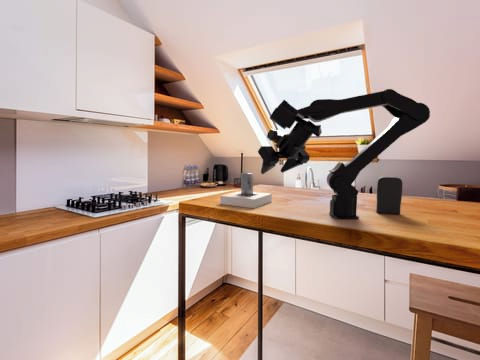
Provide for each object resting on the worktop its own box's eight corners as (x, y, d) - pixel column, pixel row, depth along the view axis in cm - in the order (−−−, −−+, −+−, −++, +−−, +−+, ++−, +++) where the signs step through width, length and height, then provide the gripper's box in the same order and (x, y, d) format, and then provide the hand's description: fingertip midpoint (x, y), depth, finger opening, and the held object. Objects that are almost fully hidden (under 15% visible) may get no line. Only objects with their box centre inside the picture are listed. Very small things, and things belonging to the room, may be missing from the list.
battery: (399, 212, 86) (401, 176, 85) (401, 215, 83) (403, 177, 81) (374, 210, 89) (376, 175, 87) (375, 213, 85) (377, 176, 84)
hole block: (271, 201, 104) (271, 193, 104) (254, 208, 92) (254, 199, 92) (240, 198, 111) (240, 190, 111) (220, 203, 99) (220, 195, 99)
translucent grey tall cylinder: (252, 201, 104) (252, 172, 103) (253, 203, 100) (253, 173, 98) (240, 201, 104) (240, 172, 103) (241, 203, 99) (241, 173, 98)
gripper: (303, 122, 92) (279, 155, 102) (261, 118, 80) (239, 156, 90) (322, 145, 86) (295, 177, 96) (281, 144, 75) (255, 181, 85)
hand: (271, 172), depth 92 cm, fingers open, 9 cm apart
